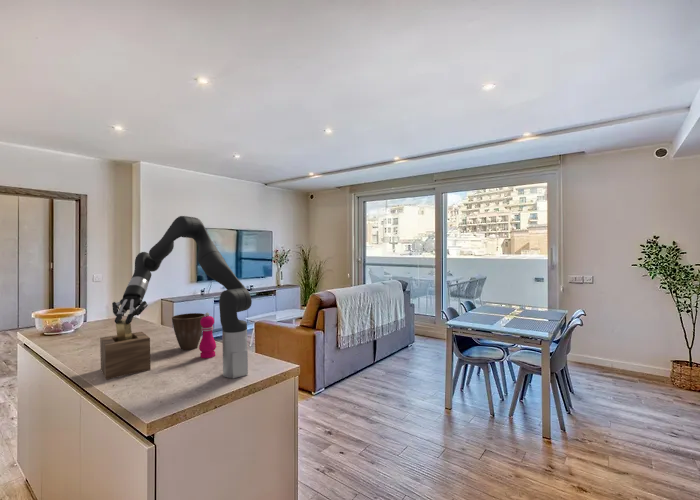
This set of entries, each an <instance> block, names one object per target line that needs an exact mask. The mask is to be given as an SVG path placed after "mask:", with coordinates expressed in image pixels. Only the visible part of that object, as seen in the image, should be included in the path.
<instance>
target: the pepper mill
mask: <svg viewBox="0 0 700 500" xmlns="http://www.w3.org/2000/svg"><path fill="white" fill-rule="evenodd" d="M204 314H205V316H204V317H203V318H202V319H201V321H200V324H201V326H202V335H201V339H200V341H199V344H198V350H199V351H200V354H199V355H200V358H201V359H211V358H215V356H216V351H215V350H216V348H217V344H216V340H215V339H214V335H213V330H214V326H213V325H214V324H215V319H214V317H213V316H211V315H210V313H209V312H206V313H204Z"/></svg>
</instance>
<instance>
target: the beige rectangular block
mask: <svg viewBox="0 0 700 500" xmlns="http://www.w3.org/2000/svg"><path fill="white" fill-rule="evenodd" d="M125 321H126V318H125V319H121V321H120V322H118V323H117V324H116V323H115V329H116V335H117V338H118V341H124V340H130V339H132V333H133V331H132V325H131V323H132V322H131V323H129V324H126V323H125Z"/></svg>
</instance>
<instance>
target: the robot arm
mask: <svg viewBox="0 0 700 500" xmlns="http://www.w3.org/2000/svg"><path fill="white" fill-rule="evenodd" d="M180 238H186V239H188V238H189V239H193V241H195V243H196V245H197V247H198V251H197V262H198V264H199V266H200V268H202V271H203V272H204V273H205V275H207V276H208V277H209V278H211V279H212V280H213V281H215V282H217V283H218V284H220V285H222V286H223V287H224V288H225V289H226V290H223V291H222V292H221V294H220V295H219V300H218V303H219V307H218V308H219V318H220V319H219V321H220V326H221V328H222V329H221V330H222V338H221V341H222V376H223V377H225V378H228V379H229V378H230V379H237V378H239V377H240V378H241V377H245V376H248V375H249V369H248V368H249V361H248V360H249V359H248V358H249V356H248V355H249V354H248V352H249V351H248V322H246V321H245V320H242V319H240V318H239V317H238V313H239V312H240V313H241V312H246V311H247V310H249V309H250V308H251V307H252V302H253V301H252V296H251V294H250V292H249V290H248V289H247V288H246V287H245V285H244V284H243V282H241V281H240V279H239V278H238V277H237V276H236V274H235V273H234V272H233V270H232V268H231V267H230V266H229V265H228V263H227V261H226V260H225V258H224V257H223V255H222V254H221V252H220V251H219V250H218V248H217V247H216V245H215V243H214V242H213V240H212V238H211V236H210V235H209V233H208V231H207V229H206V227H205V225H204V222H203V221H201V219H199V218H198V217H194V216H187V215H179V216H178V217H176V218H175V219H174V220H173V222H172V223H171V224H170V225H169V227H168V229H167V230H166V231H165V233H164V235H163V236H162V237H161V239H160V240H159V241H158V242H157V243H155V244H154V245H153V246H152V247H151V248H150V249H149V251H148V252H147V251H141V252H139V253H138V254H137V255H136V256H135V260H134V271H133V275H131V278H130V280H129V282H128V284H127V286H126V288H125V290H124V292H123V296H122V298H121V299H120V300H119V301H118V302H116V301H113V302H112V305H111V306H112V313H113V315H114V316H115V318H114V323H115V325H116V324H117V323H118V322H120V321H121V320H123V316H124V315H125V314H126V313H127V312H128V311H129V312H128V313H127V316H126V318H125V319H126V321H125V323H126V324H129V323H132V321H133V319H134V317H135V316H139V315H141V313H143V311H144V310H145V309H147V307H149V304H148V303H147V302H146V300H144V298H145V295H146V292H147V290H148V287H149V284H150V281H151V279H152V272H156V271H157V270H159V268H160V267H161V264H162V262H163V260H164V259H166V257H168V256H169V255H170V254H171V253H172V252H173V250H174V249H175V248H174V246H175V241H176V240H177V239H180Z"/></svg>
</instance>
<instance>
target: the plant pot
mask: <svg viewBox="0 0 700 500" xmlns="http://www.w3.org/2000/svg"><path fill="white" fill-rule="evenodd" d="M205 314H206V313H201V312H200V313H199V312H198V313H197V312H195V313H193V312H192V313H191V312H190V313H181V314H177V315H173V316H172V317H171V321H172V327H173V330H174V335H175V338H176V341H177V343H178V346H179V348H180V350H182V351H191V350H194V349H197V348H198V347H199V345H200V342H201V339H202V335H203V331H202V326H201V324H200V321H201V319H202V318H203V317H204V316H205Z"/></svg>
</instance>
